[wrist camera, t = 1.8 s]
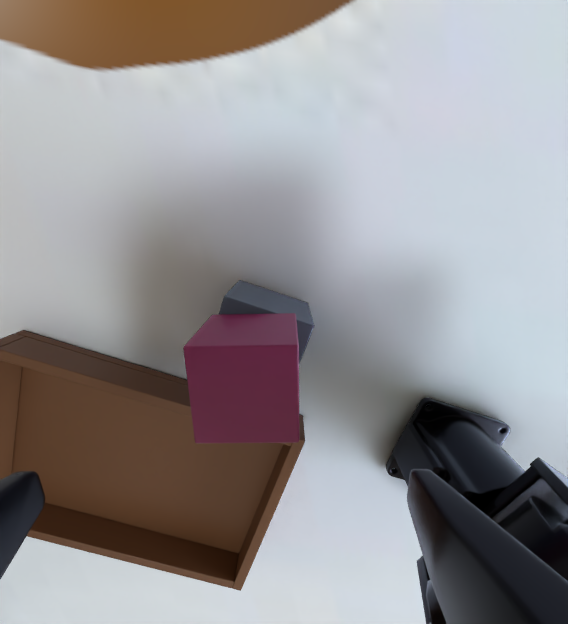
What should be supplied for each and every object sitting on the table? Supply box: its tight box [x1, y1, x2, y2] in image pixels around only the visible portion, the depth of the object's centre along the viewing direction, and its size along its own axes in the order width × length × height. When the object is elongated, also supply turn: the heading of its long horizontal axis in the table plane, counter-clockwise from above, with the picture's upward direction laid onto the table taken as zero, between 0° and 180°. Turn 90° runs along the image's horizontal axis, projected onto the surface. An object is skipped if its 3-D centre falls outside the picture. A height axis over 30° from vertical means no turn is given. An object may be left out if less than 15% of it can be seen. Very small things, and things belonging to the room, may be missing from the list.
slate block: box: [219, 280, 314, 364], centre depth 17 cm, size 4×4×4 cm
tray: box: [0, 330, 305, 590], centre depth 20 cm, size 19×14×3 cm
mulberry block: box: [183, 313, 299, 443], centre depth 13 cm, size 4×4×4 cm
